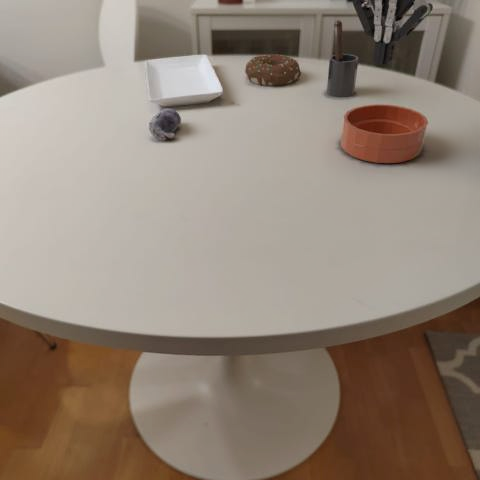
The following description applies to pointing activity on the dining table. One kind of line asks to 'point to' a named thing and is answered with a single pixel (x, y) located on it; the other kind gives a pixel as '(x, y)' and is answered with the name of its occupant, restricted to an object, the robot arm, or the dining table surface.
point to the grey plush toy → (164, 124)
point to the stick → (338, 41)
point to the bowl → (383, 133)
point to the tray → (182, 80)
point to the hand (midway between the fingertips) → (381, 65)
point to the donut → (272, 70)
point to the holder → (342, 76)
